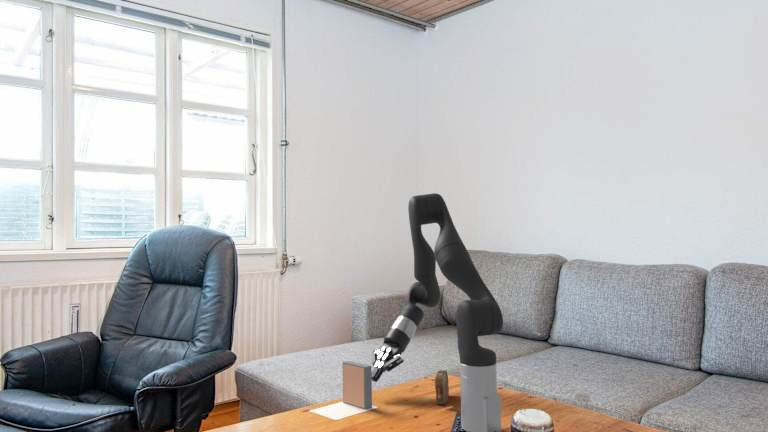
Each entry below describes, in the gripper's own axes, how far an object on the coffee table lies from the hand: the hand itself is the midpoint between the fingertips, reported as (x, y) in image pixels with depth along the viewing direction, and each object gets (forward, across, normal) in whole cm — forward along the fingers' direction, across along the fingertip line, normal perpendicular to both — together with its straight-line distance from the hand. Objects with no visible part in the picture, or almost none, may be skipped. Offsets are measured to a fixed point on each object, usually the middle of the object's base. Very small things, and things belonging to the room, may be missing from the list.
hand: (372, 379), depth 168 cm
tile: (+9, 0, 0) cm, 9 cm away
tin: (-6, +14, +16) cm, 22 cm away
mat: (+13, 0, -4) cm, 13 cm away
